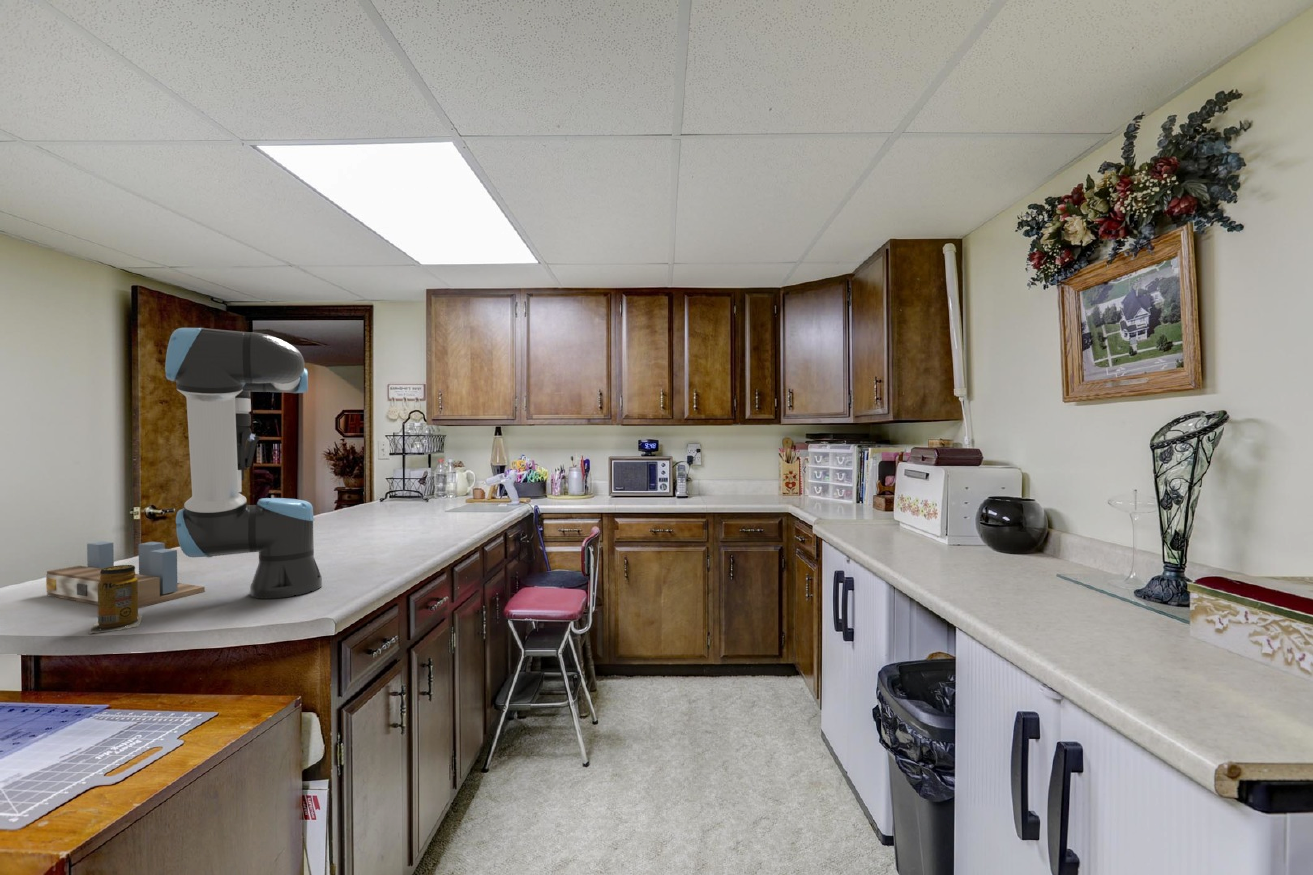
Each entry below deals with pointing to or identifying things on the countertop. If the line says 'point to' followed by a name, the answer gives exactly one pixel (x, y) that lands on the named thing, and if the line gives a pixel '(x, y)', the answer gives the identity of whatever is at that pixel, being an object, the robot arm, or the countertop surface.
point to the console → (85, 580)
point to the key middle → (147, 555)
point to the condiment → (117, 599)
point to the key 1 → (100, 555)
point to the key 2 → (164, 569)
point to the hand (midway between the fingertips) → (235, 491)
